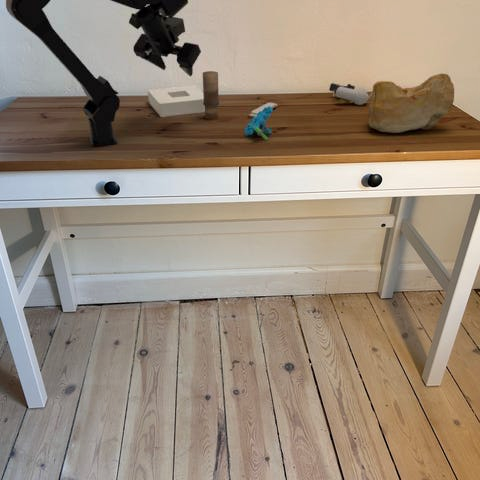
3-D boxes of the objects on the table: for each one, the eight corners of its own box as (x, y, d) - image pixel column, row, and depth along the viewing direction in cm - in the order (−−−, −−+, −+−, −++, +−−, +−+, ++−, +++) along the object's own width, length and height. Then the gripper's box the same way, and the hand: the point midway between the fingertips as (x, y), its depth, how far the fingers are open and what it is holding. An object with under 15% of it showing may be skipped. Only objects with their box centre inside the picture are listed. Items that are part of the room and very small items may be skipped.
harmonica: (270, 106, 151) (270, 100, 150) (278, 108, 150) (279, 102, 148) (247, 119, 140) (247, 112, 139) (256, 121, 139) (256, 114, 138)
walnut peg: (221, 119, 139) (220, 74, 132) (206, 121, 137) (205, 75, 130) (216, 114, 142) (215, 70, 135) (201, 116, 141) (200, 71, 134)
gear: (245, 121, 133) (270, 98, 127) (259, 135, 135) (285, 113, 129) (239, 140, 124) (266, 116, 119) (255, 154, 127) (282, 132, 121)
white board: (211, 111, 145) (210, 98, 143) (160, 117, 140) (159, 103, 138) (195, 97, 158) (195, 85, 155) (148, 102, 152) (147, 90, 150)
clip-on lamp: (375, 105, 162) (326, 93, 159) (382, 86, 159) (332, 74, 156) (387, 112, 151) (335, 100, 148) (395, 92, 149) (341, 80, 146)
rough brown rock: (426, 117, 144) (434, 66, 137) (454, 132, 129) (464, 75, 122) (353, 123, 142) (357, 71, 135) (373, 138, 127) (378, 80, 120)
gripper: (200, 10, 116) (218, 55, 130) (141, 0, 123) (164, 44, 137) (179, 44, 114) (200, 87, 128) (120, 32, 121) (146, 74, 135)
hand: (177, 71), depth 132 cm, fingers open, 9 cm apart
